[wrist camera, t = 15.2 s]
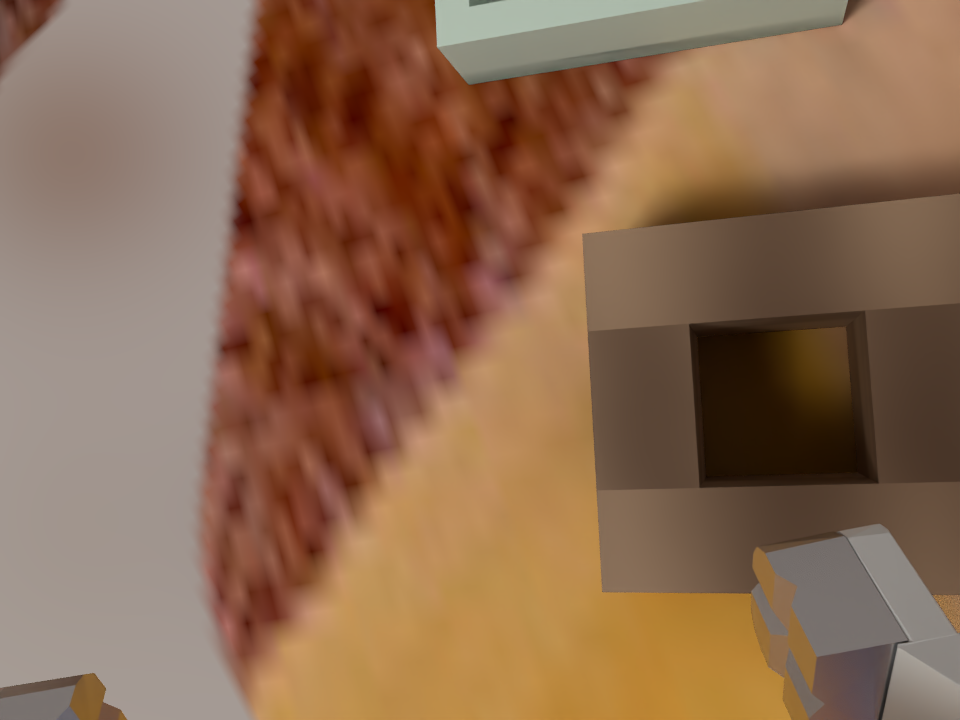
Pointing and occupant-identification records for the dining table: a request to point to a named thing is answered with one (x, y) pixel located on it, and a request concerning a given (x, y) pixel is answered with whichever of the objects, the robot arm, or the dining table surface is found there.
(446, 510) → the dining table surface
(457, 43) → the tray
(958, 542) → the socket block
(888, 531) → the robot arm
